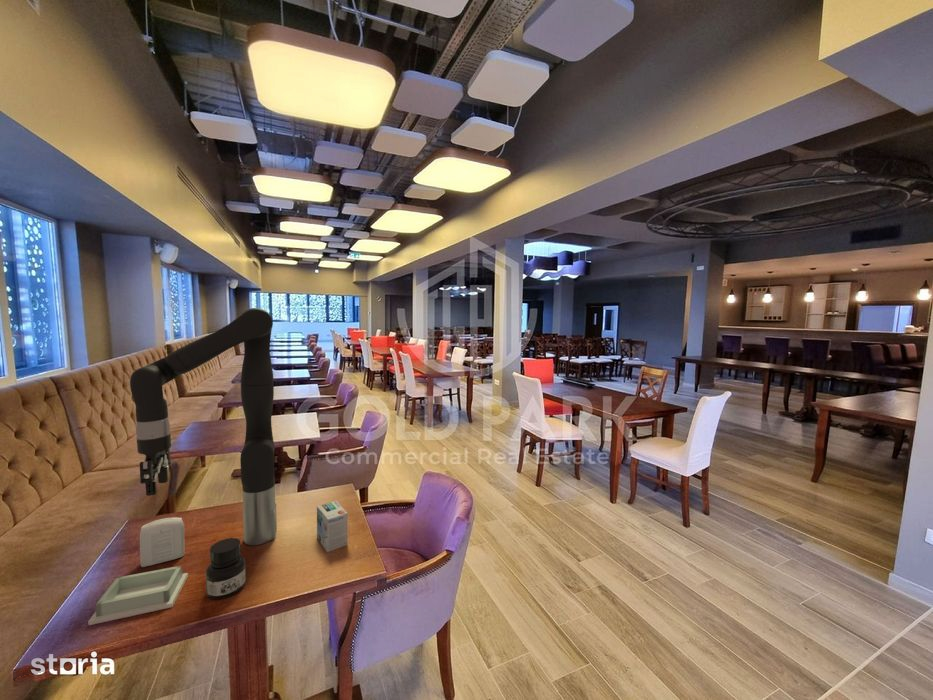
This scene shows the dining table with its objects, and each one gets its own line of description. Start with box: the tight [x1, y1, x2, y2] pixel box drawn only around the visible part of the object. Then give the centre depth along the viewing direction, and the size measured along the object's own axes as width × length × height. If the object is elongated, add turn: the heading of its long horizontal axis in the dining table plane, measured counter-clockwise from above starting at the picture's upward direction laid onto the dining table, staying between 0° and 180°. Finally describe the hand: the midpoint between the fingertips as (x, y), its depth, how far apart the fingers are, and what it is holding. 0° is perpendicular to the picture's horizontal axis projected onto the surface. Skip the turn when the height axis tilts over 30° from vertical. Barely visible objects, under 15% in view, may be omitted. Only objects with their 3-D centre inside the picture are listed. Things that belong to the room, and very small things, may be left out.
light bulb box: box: [316, 500, 348, 553], centre depth 121 cm, size 11×7×11 cm, turn 39°
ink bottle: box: [205, 537, 247, 600], centre depth 99 cm, size 10×9×12 cm
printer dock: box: [87, 565, 189, 626], centre depth 95 cm, size 16×12×4 cm
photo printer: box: [139, 517, 185, 568], centre depth 110 cm, size 10×4×12 cm, turn 123°
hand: (157, 488), depth 109 cm, fingers open, 8 cm apart
